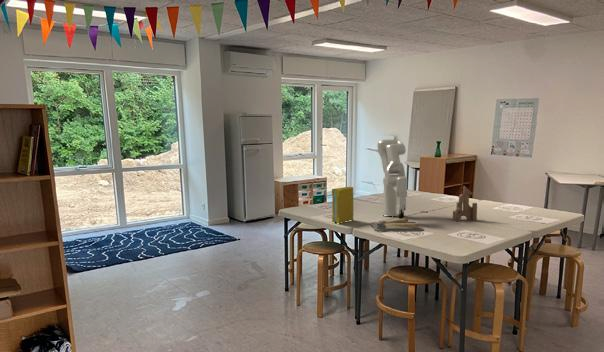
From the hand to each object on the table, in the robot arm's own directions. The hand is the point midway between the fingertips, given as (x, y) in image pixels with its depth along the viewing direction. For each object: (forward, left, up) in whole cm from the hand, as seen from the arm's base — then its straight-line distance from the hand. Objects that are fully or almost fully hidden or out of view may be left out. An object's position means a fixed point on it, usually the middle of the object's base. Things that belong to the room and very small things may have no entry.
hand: (401, 219), depth 294 cm
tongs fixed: (+20, -7, -1) cm, 22 cm away
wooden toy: (-3, +47, -3) cm, 47 cm away
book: (-5, -41, -3) cm, 41 cm away
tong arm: (+14, -9, -1) cm, 17 cm away
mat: (+14, -7, -2) cm, 16 cm away
